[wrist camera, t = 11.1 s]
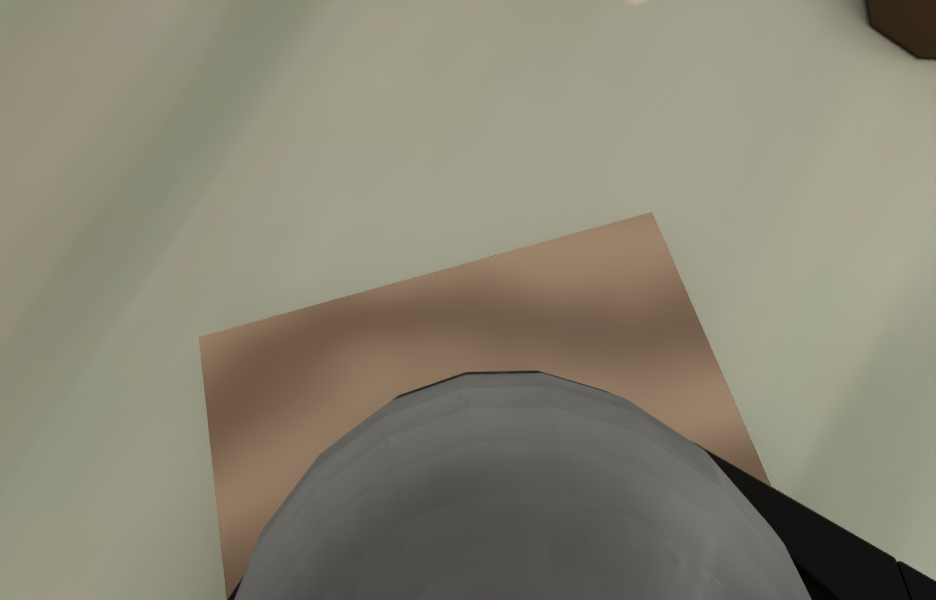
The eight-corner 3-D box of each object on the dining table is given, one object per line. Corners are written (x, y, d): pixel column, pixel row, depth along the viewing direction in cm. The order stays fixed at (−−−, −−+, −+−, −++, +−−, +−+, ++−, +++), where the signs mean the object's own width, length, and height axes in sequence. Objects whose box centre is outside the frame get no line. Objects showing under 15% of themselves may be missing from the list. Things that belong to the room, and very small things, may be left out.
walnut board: (865, 745, 16) (894, 769, 15) (283, 930, 15) (266, 970, 14) (643, 224, 22) (651, 212, 21) (214, 343, 21) (198, 337, 20)
